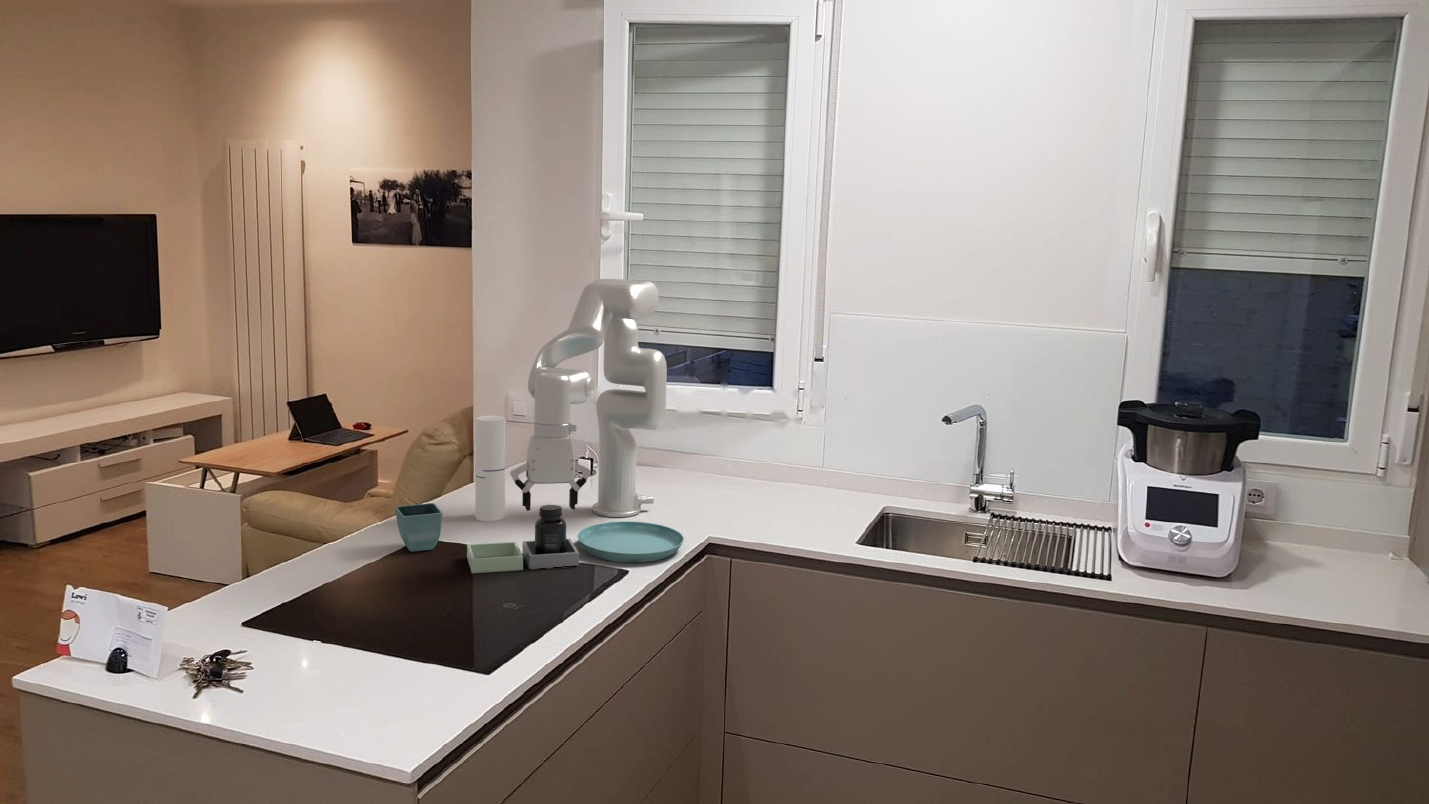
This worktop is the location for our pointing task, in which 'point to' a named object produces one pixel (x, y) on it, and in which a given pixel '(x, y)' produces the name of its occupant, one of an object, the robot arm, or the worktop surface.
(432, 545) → the flower pot
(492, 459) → the cylindrical container
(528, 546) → the grey bin
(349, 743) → the worktop surface
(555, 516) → the supplement bottle
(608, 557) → the teal plate
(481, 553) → the green bin
